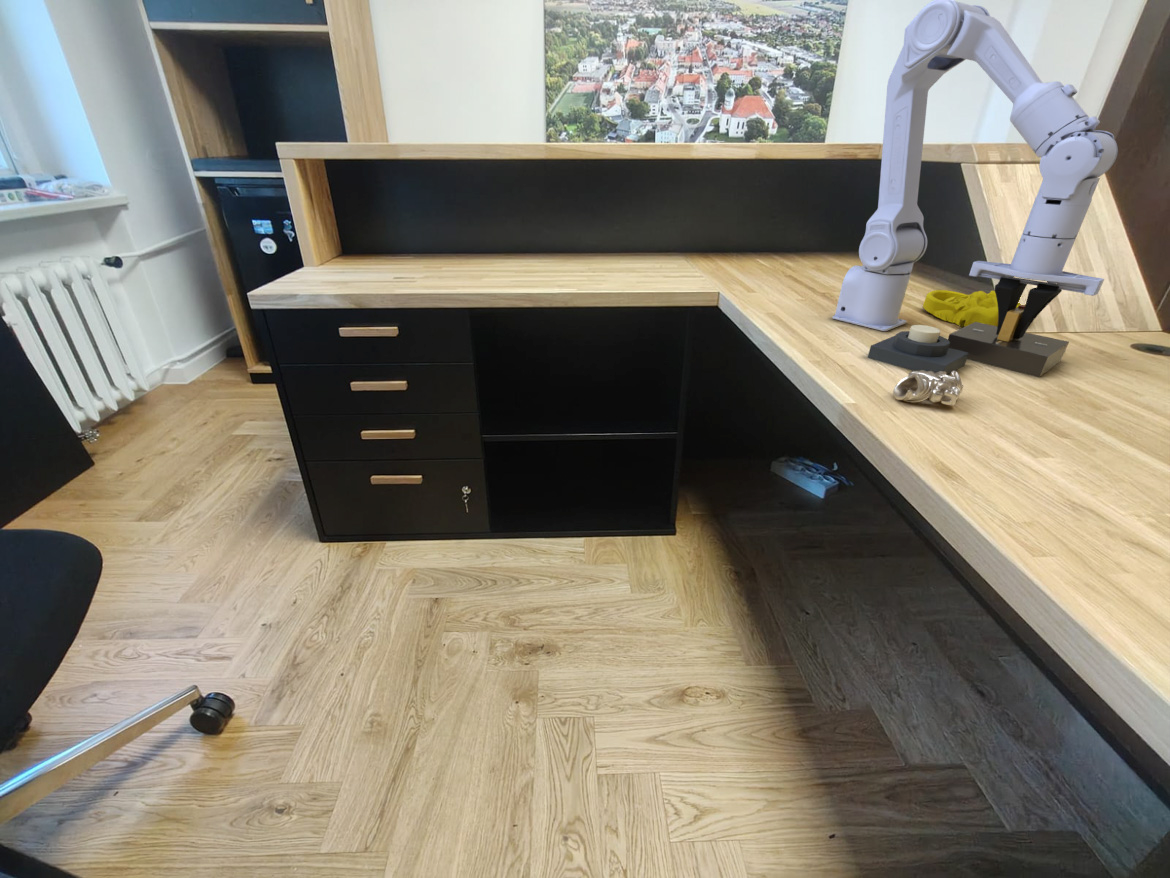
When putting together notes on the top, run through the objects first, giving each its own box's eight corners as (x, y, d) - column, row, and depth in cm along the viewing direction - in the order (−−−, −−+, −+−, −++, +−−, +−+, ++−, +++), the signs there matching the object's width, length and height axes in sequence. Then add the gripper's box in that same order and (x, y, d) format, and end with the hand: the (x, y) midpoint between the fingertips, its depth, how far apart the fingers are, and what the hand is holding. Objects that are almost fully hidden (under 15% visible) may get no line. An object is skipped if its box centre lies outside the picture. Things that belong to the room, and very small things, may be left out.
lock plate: (942, 353, 82) (949, 332, 81) (968, 340, 88) (975, 320, 86) (1038, 377, 74) (1048, 355, 73) (1060, 361, 80) (1069, 340, 78)
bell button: (902, 340, 78) (906, 328, 77) (914, 335, 80) (917, 323, 79) (929, 346, 75) (934, 334, 74) (940, 341, 77) (944, 329, 76)
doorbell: (867, 358, 80) (873, 334, 78) (892, 346, 85) (899, 324, 83) (941, 379, 73) (949, 353, 72) (964, 365, 78) (973, 341, 76)
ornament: (921, 417, 63) (931, 387, 61) (880, 393, 69) (888, 365, 67) (979, 410, 65) (990, 381, 63) (934, 387, 71) (943, 360, 69)
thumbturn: (1007, 341, 78) (1019, 312, 76) (996, 339, 79) (1008, 309, 77) (1020, 335, 80) (1032, 306, 78) (1009, 332, 81) (1020, 304, 79)
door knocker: (908, 304, 107) (914, 282, 105) (991, 304, 107) (999, 282, 105) (957, 330, 93) (965, 305, 91) (1053, 331, 92) (1064, 306, 90)
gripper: (1126, 240, 70) (1079, 343, 77) (997, 226, 80) (965, 318, 87) (1112, 245, 66) (1064, 353, 73) (978, 230, 76) (946, 327, 83)
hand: (1009, 335), depth 79 cm, fingers closed on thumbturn
